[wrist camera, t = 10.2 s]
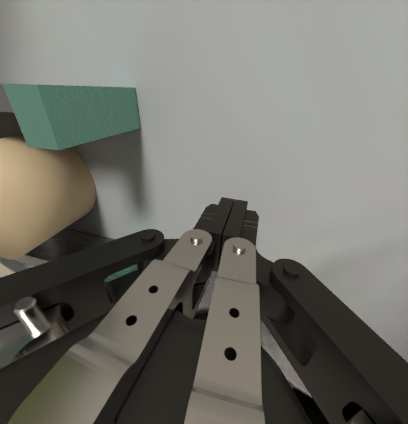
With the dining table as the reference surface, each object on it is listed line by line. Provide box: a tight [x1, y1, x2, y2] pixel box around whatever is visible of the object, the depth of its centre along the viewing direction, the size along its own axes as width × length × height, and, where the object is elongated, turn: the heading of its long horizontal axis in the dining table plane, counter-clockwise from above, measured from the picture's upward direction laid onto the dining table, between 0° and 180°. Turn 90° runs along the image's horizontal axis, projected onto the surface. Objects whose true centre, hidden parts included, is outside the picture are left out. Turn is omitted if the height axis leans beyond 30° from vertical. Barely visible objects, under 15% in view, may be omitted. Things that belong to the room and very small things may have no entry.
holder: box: [0, 84, 140, 282], centre depth 15 cm, size 16×13×6 cm
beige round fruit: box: [0, 134, 96, 259], centre depth 15 cm, size 7×7×6 cm
